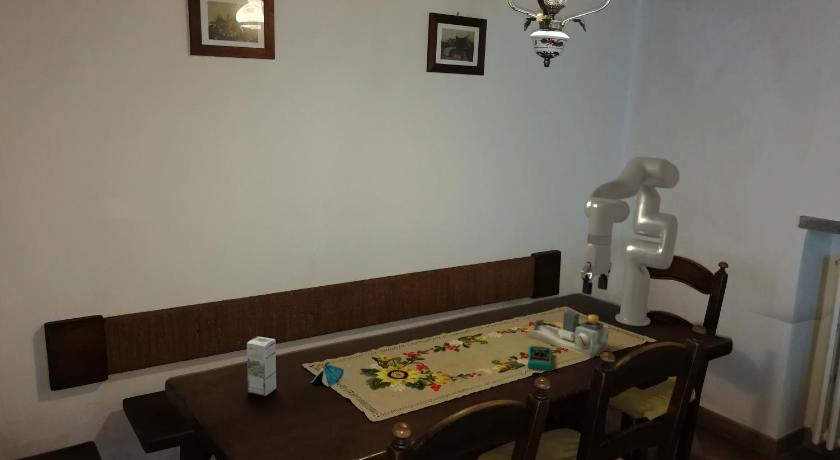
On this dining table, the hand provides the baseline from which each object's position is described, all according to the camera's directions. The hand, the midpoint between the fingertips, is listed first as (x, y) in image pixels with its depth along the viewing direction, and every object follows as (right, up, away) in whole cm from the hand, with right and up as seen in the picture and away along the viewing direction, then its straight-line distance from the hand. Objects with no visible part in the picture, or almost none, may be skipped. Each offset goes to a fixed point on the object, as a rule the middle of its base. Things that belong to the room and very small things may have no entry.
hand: (594, 291), depth 214 cm
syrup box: (-100, -24, -36) cm, 109 cm away
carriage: (-6, -17, +9) cm, 20 cm away
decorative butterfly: (-84, -23, -27) cm, 91 cm away
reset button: (0, -10, +2) cm, 10 cm away
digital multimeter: (-19, -22, -7) cm, 30 cm away
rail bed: (-7, -18, +10) cm, 22 cm away
